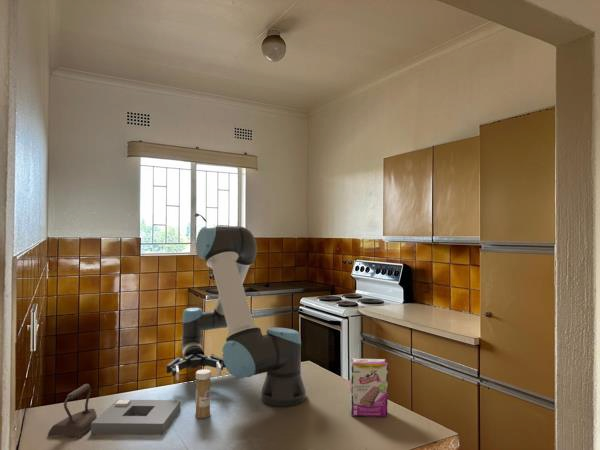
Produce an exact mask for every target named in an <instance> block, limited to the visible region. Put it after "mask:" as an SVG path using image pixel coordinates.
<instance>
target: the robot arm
mask: <svg viewBox="0 0 600 450" xmlns="http://www.w3.org/2000/svg"><path fill="white" fill-rule="evenodd" d="M257 246H258V245H257V241H256V238H255V235H253V233H252V232H251V230H249V229H248V228H246V227H243V226H239V225H235V226H234V225H230V226H229V225H215V224H213V225H205V226H203V227H202V228H201V229H200V230H199V232H198V234H197V237H196V242H195V252H196V256H197V257H198V258H199V259H202V260H205V264H206V266H207V268H208V267H209V268H210V269H212V273H213V278H214V281H215V285H216V289H217V292H218V298H217V301H216V303H215V306H214V308H213V309H214V310H209V311H203V309H202V308H201V307H200V308H199V307H188V308H185V309H184V310H183V313H182V320H181V322H182V337H181V345H180V346H181V347H180V348H181V352H182V356H183V358H181V357H180V356H176V357H175V359H173V360H172V361H170V362H169V363H168V364H166V369H165V370H166V372H165V373H166V374H170V373H171V375H172V376H175V379H176V381H180V371H183V370H184V369H189V368H193V369H195V368H199V367H204V368H205V367H211V368H214V369H216V372H217V375H218V376H219V377H221V376H222V371H223V370H224V368H225V369H226V370H227V372H228V373H229V374H230V375H231V376H233V377H234V378H235V379H236V378H237V379H245V378H251V377H253V376H256V375H261V374H265V373H266V374H265V379H264V382H263V385H262V388H261V392H260V397H261V398H260V399H261V401H262V402H263V403H265V404H267V405H269V406H274V407H293V406H297V405H300V404H301V403H303V402H305V400H306V399H305V398H306V396H307V395H306V394H307V393H306V387H305V385H304V381H303V377H302V375H301V374H302V373H301V372H302V371H301V368H302V365H301V363H302V362H301V360H302V359H301V358H302V355H301V354H302V340H301V334H300V332H299V331H298V330H295V329H293V328H292V329H291V328H285V327H269V328H267V329H266V333H265V334H263V333H262V330H261V327H260V326H258V325H256V324H255V323H254V319H253V316H252V313H251V312H252V311H251V309H250V305H249V301H248V298H247V295H246V292H245V288H244V285H243V284H244V282H245V280H246V277H247V274H248V271H249V269H250V266H252V265H254V262H255V260H256V256H257V254H258V253H257V252H258V247H257ZM224 328H227V330H228V334H227V336H226V337H225V343H224V345H223V346H222V350H221V351H222V357H220V356H218V355H215V354H214V353H211V354H210V355H209V356H207V355H206V354H205V351H204V349H203V347H202V336H203V334H202V333H203V331H205V332H206V331H210V330H217V329H224Z"/></svg>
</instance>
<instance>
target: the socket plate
mask: <svg viewBox="0 0 600 450" xmlns="http://www.w3.org/2000/svg"><path fill="white" fill-rule="evenodd" d="M181 404H182V401H181V399H117V400H116V401H115V402H113V403H112V404H111V405H109V407H107V408H106V409H105V410H104V411H103V412H102V413H101V414H100V415H99V416H97V418H96V419H95V420H94V421H93V422H92V423H91V430H90V435H151V436H154V435H156V436H157V435H159V436H163V435H164V434H165V433H166V431H167V430H168V428H170V425H171V424H172V423H173V421H174V420H175V418H176V417H177V415H178V414H179V413H180V411H181V410H182V407H181V406H182V405H181Z"/></svg>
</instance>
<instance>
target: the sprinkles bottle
mask: <svg viewBox="0 0 600 450" xmlns="http://www.w3.org/2000/svg"><path fill="white" fill-rule="evenodd" d="M211 378H212V371H211V370H210V369H207V368H205V369H198V370H197V371H196V372H195V383H196V384H195V414H194V416H195V418H198V419H205V418H208V417H210V416H211Z"/></svg>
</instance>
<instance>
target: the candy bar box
mask: <svg viewBox="0 0 600 450" xmlns="http://www.w3.org/2000/svg"><path fill="white" fill-rule="evenodd" d="M388 376H389V364H388V361H387V360H386V359H385V358H383V359H382V358H354V357H353V358H350V377H349V378H350V381H349V382H350V384H349V385H350V386H349V387H350V388H349V389H350V391H349V393H350V394H349V397H350V398H349V410H350V414H351V417H368V418H369V417H370V418H371V417H373V418H374V417H375V418H376V417H377V418H378V417H379V418H387V417H388V398H389V397H388V395H389V394H388V393H389V392H388V386H389V384H388V383H389V382H388V379H389V377H388Z"/></svg>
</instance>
